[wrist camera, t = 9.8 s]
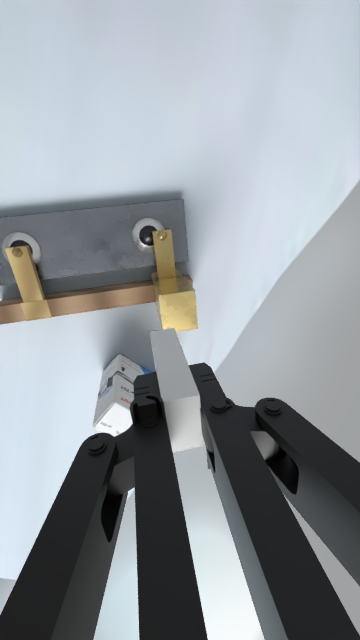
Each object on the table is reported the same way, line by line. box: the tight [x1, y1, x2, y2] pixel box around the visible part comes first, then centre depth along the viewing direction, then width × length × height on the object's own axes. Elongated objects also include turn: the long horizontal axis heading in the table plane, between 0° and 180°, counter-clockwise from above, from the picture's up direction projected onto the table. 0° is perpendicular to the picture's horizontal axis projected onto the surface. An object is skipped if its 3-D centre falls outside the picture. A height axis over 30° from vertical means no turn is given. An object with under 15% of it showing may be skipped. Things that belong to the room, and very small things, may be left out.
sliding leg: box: [151, 229, 198, 332], centre depth 34 cm, size 4×10×11 cm, turn 6°
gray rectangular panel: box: [0, 199, 188, 286], centre depth 36 cm, size 26×8×1 cm, turn 96°
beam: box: [0, 245, 193, 324], centre depth 37 cm, size 26×9×3 cm, turn 96°
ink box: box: [93, 354, 151, 437], centre depth 40 cm, size 9×5×12 cm, turn 50°
